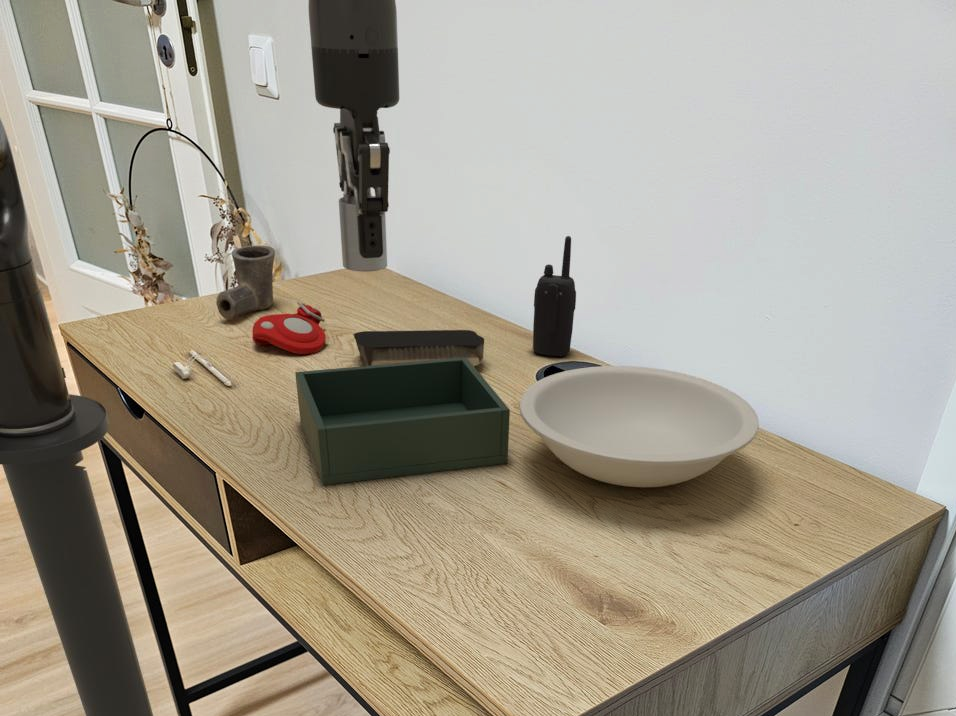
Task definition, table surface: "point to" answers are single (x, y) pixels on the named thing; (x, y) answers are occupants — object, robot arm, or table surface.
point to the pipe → (249, 282)
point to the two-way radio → (554, 309)
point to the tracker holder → (292, 330)
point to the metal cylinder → (351, 241)
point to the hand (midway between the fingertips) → (366, 249)
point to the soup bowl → (637, 423)
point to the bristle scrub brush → (418, 346)
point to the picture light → (185, 370)
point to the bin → (401, 419)
